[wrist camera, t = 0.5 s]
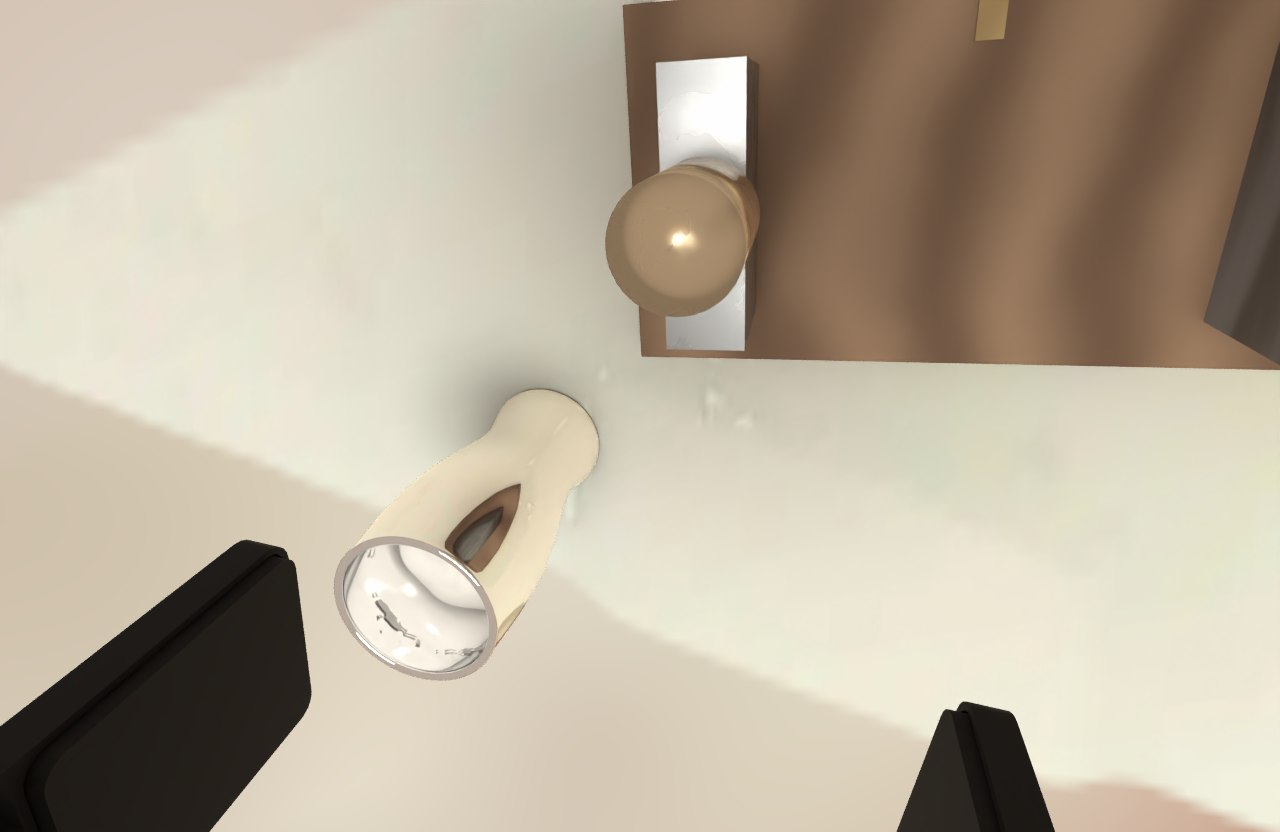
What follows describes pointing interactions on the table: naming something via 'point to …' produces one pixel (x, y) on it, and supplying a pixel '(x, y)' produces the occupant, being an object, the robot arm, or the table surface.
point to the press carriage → (696, 208)
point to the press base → (997, 177)
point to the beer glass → (467, 541)
